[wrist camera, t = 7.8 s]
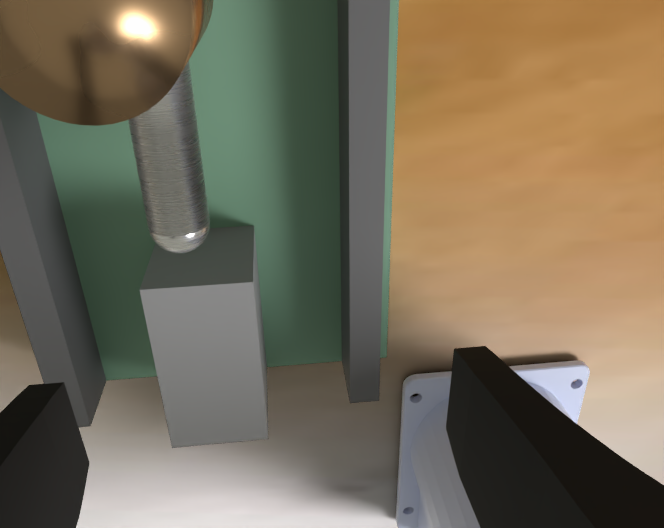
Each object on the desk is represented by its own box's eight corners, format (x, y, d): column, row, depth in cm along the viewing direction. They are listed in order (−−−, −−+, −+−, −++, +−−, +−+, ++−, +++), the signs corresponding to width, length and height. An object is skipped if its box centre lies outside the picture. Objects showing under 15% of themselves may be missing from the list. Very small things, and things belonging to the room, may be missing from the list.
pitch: (379, 334, 24) (407, 425, 19) (69, 358, 22) (22, 461, 18) (405, -638, 12) (491, -982, 7) (-236, -679, 11) (-578, -1106, 6)
